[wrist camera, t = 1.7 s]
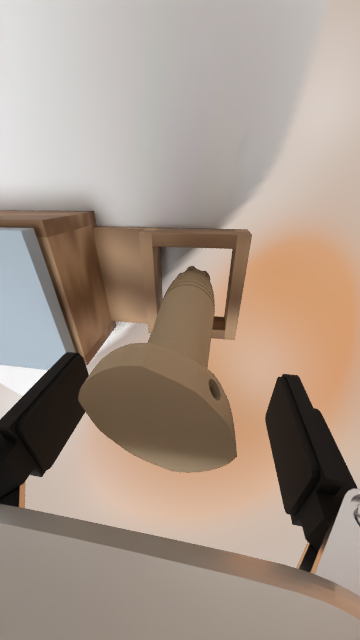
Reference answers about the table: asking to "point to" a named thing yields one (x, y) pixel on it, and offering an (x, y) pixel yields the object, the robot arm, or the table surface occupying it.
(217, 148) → the table surface
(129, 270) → the toolbox
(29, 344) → the lid
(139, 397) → the handle
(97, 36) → the table surface
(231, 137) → the table surface
